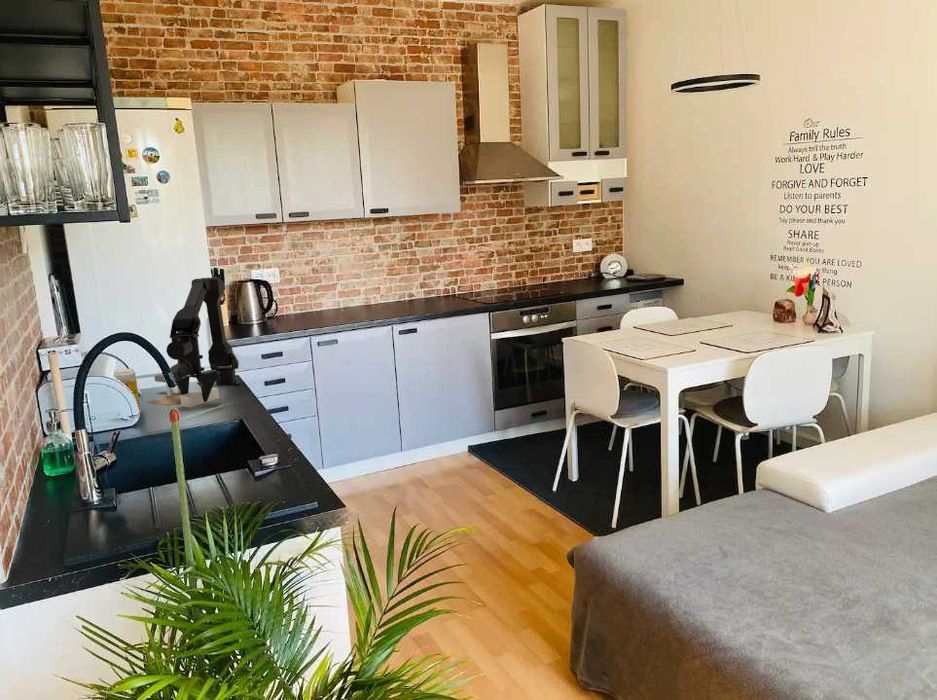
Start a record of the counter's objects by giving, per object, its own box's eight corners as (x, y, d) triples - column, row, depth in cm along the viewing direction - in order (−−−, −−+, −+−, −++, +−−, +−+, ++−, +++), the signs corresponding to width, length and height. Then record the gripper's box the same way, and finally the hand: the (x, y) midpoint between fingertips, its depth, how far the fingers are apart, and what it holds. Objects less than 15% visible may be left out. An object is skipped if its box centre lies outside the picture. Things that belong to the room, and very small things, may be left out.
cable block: (211, 398, 248) (209, 387, 247) (219, 399, 246) (218, 388, 245) (181, 407, 238) (180, 395, 237) (190, 409, 236) (188, 396, 235)
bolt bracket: (181, 392, 256) (178, 371, 255) (184, 392, 256) (182, 371, 254) (167, 396, 251) (164, 375, 250) (170, 396, 251) (168, 375, 249)
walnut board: (182, 394, 257) (182, 391, 257) (206, 397, 251) (206, 394, 251) (145, 405, 244) (144, 402, 244) (169, 409, 239) (169, 406, 238)
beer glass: (119, 421, 227) (112, 373, 224) (120, 416, 232) (113, 369, 230) (140, 418, 229) (134, 371, 226) (141, 413, 235) (135, 367, 232)
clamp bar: (160, 379, 258) (160, 374, 257) (182, 382, 252) (181, 376, 252) (155, 381, 256) (154, 375, 255) (176, 383, 250) (175, 378, 250)
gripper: (149, 356, 235) (155, 404, 238) (189, 360, 226) (195, 409, 229) (178, 349, 244) (183, 395, 247) (218, 353, 235) (223, 400, 238)
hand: (195, 400), depth 240 cm, fingers open, 9 cm apart
